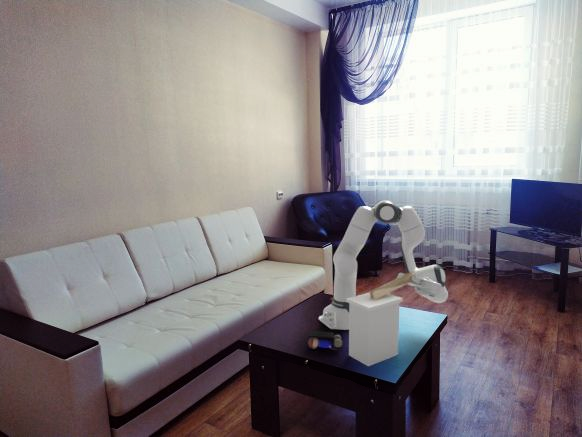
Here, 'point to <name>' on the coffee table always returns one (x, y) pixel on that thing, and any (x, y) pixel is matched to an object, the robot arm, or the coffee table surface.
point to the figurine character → (315, 343)
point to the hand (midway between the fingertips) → (407, 276)
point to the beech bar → (391, 286)
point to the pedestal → (373, 327)
